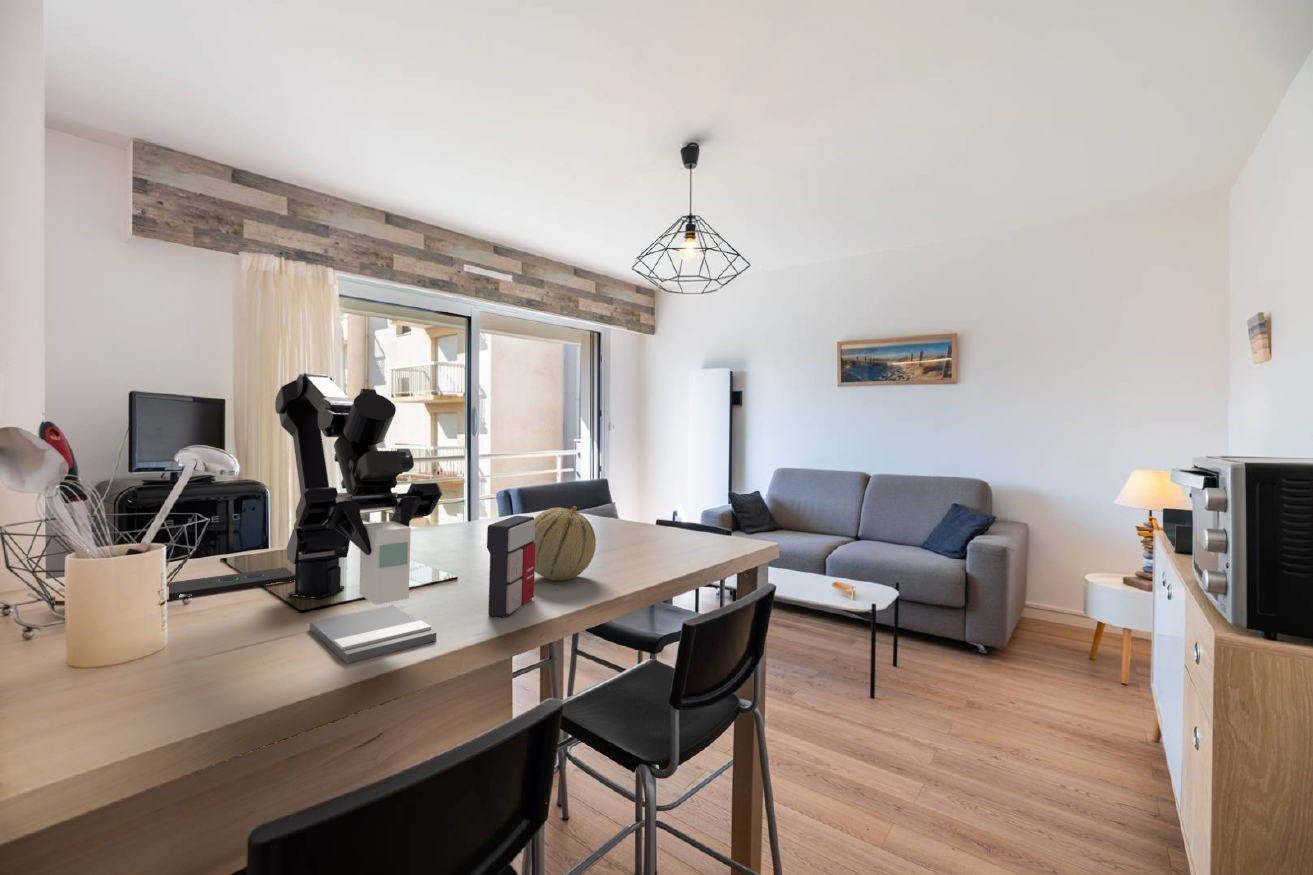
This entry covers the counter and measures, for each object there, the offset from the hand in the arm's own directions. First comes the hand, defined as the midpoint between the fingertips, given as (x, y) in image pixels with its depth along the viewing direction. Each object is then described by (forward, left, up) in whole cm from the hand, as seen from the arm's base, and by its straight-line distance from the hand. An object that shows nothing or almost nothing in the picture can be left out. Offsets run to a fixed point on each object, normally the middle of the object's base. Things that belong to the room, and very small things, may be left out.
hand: (387, 551), depth 81 cm
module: (-1, +1, -7) cm, 7 cm away
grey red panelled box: (+10, +20, -14) cm, 27 cm away
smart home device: (-44, +18, -14) cm, 49 cm away
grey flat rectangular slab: (-4, +3, -13) cm, 14 cm away
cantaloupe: (+12, +39, -14) cm, 43 cm away
